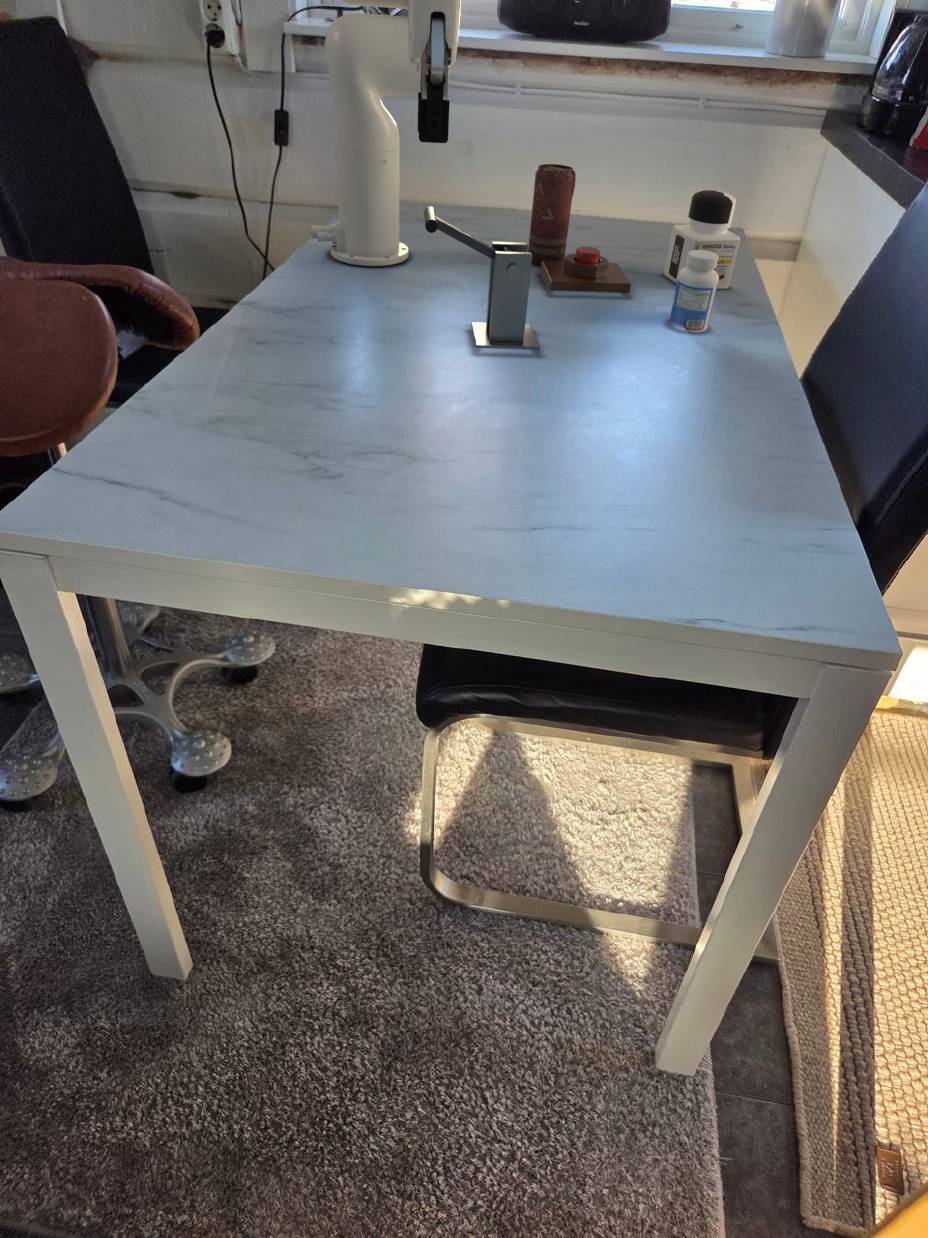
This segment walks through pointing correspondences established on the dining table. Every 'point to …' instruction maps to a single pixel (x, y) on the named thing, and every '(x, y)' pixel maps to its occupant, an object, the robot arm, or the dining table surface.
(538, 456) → the dining table surface
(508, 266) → the grey lever stand
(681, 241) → the container
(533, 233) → the can
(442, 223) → the tap lever
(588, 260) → the button
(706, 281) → the pill bottle
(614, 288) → the button block
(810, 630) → the dining table surface
